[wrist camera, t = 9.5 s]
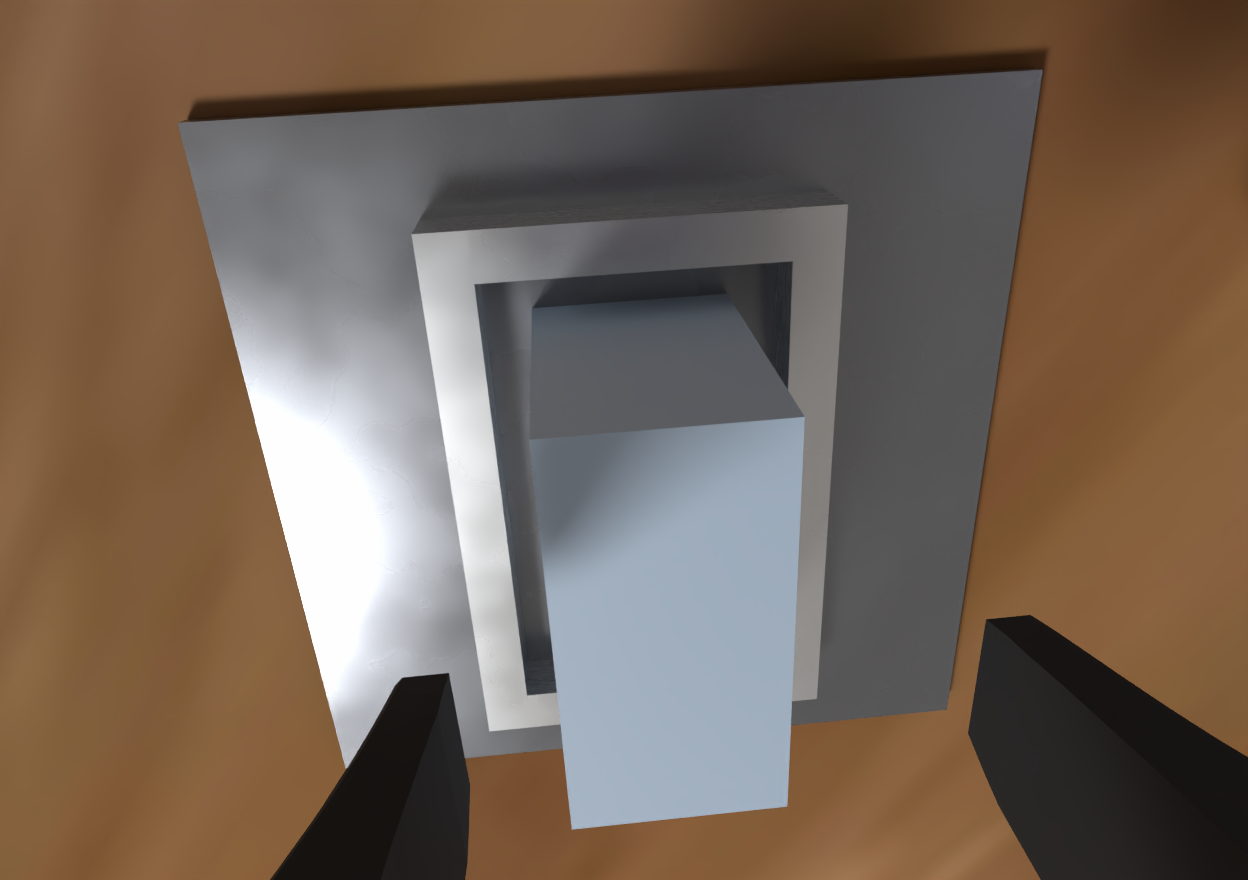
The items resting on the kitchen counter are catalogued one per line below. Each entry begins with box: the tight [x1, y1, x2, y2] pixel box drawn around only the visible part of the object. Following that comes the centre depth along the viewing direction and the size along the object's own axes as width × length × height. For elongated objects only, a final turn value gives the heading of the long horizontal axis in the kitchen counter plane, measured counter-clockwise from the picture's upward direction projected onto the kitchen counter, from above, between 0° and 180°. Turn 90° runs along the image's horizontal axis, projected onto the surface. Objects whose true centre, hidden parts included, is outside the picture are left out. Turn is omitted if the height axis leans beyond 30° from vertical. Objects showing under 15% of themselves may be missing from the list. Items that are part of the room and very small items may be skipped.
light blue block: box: [529, 294, 805, 829], centre depth 17 cm, size 8×4×6 cm, turn 3°
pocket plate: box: [178, 68, 1043, 769], centre depth 19 cm, size 16×16×3 cm
